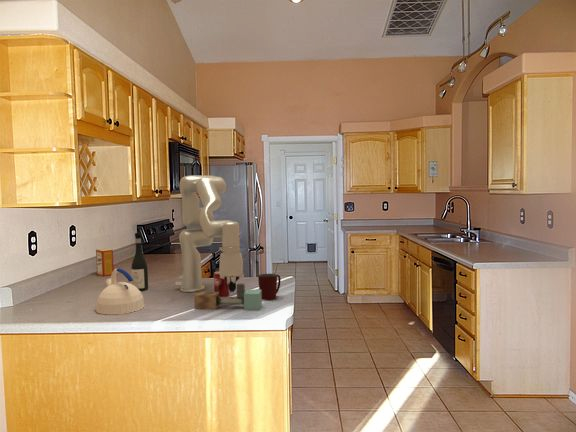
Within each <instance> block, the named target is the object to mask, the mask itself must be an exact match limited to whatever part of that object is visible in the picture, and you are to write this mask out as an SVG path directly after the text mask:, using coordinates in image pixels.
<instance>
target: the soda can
mask: <svg viewBox="0 0 576 432" xmlns="http://www.w3.org/2000/svg"><path fill="white" fill-rule="evenodd" d="M213 292H219V297H230V290H229V287H228V282H227V281H226V280H225V279H222V278H220V274H219V270H218V271H215V272H214V273H213Z"/></svg>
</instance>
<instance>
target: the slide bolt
mask: <svg viewBox="0 0 576 432" xmlns="http://www.w3.org/2000/svg"><path fill="white" fill-rule="evenodd" d="M245 287H246V283H243V282H241V283H239V282H238V283H236V296H229V297H216V304H217V305H219V306H220V305H223V306H224V305H229V306H230V305H234V306H235V305H237V306H238V305H243V306H244V293H245V292H246V288H245Z"/></svg>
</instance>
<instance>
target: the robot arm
mask: <svg viewBox="0 0 576 432" xmlns="http://www.w3.org/2000/svg"><path fill="white" fill-rule="evenodd" d="M226 190H227V183H226V181H225V180H224V178H222V177H221V176H217V175H194V174H193V175H185V176H183V177H182V178H180V180H179V192H180V195H181V199H182V200H181V201H182V208H181V209H182V224H183V225H184V226H185V227H197V228H187V229H183V230H182V231H181V232H180V233H179V244H180V248H181V249H180V250H181V266H182V268H181V269H182V280H181V281H175V283H174V284H175V286H176V287H180V288H179V291H180V292H184V293H195V292H196V293H198V292H202V291H203V290H205V289H206V288H205V285H202V284H203V283H202V259H201V258H202V257H201V253H200V252H199V251H198V249H197V248H199V247H200V248H201V247H207V246H211V245H212V243H213V242H214V239H216V238H221V242H222V243H221V244H222V245H221V247H220V246H219V247H218V251H221V253H220V256H219V269H218V271H219V274H220V278H222V279H225V280H226V281H227V282H228V287H229V293H235V291H237V283H236V282H237V281H238V280H240V279H244V278H245V275H244V272H245V271H244V269H245V268H244V260H243V254H242V252H240V251H241V248H240V242H241V241H240V224H239V222H237V221H233V220H231V219H230V220H229V219H227V220H226V219H223V220H214V219H215V218H214V214H213V213H214V212H215V211H217V210H218V209H219V208H220V207H221V205H222V199H221V197H220V195H224V194H225V192H226ZM197 194H198V195H197ZM200 202H201V204H202V206H203V207H200ZM198 227H200V228H198Z"/></svg>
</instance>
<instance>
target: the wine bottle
mask: <svg viewBox="0 0 576 432" xmlns="http://www.w3.org/2000/svg"><path fill="white" fill-rule="evenodd" d="M141 236H142V233H141V232H135V233H134V238H135V254H134V257H133V259H132V263H131V266H130V267H131V268H130V269H131V277H132V279H133V280H134V281H131V284H132V285H134V286H135V287H137V288H138V289H139V291H140V292H142V291H147V290H148V289H149V276H148V275H149V272H148V263H147V261H146V259H145V257H144V254H143V252H142V237H141Z"/></svg>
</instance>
